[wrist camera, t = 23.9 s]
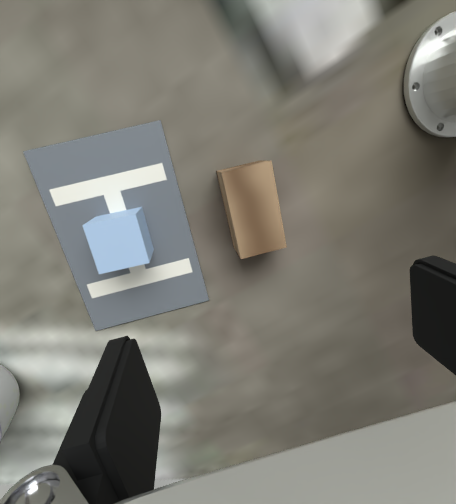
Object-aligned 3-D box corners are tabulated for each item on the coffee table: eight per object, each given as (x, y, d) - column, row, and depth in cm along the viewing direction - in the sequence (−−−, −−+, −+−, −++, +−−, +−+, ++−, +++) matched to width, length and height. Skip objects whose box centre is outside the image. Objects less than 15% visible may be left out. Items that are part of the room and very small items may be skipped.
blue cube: (142, 206, 35) (135, 214, 30) (153, 249, 36) (149, 262, 32) (96, 216, 34) (82, 225, 30) (110, 259, 36) (98, 274, 31)
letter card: (160, 120, 33) (160, 120, 33) (208, 299, 39) (209, 300, 39) (23, 151, 32) (23, 151, 32) (96, 330, 38) (95, 330, 38)
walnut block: (259, 160, 36) (271, 160, 31) (273, 236, 38) (286, 247, 33) (216, 171, 35) (221, 172, 30) (233, 246, 38) (241, 259, 33)
